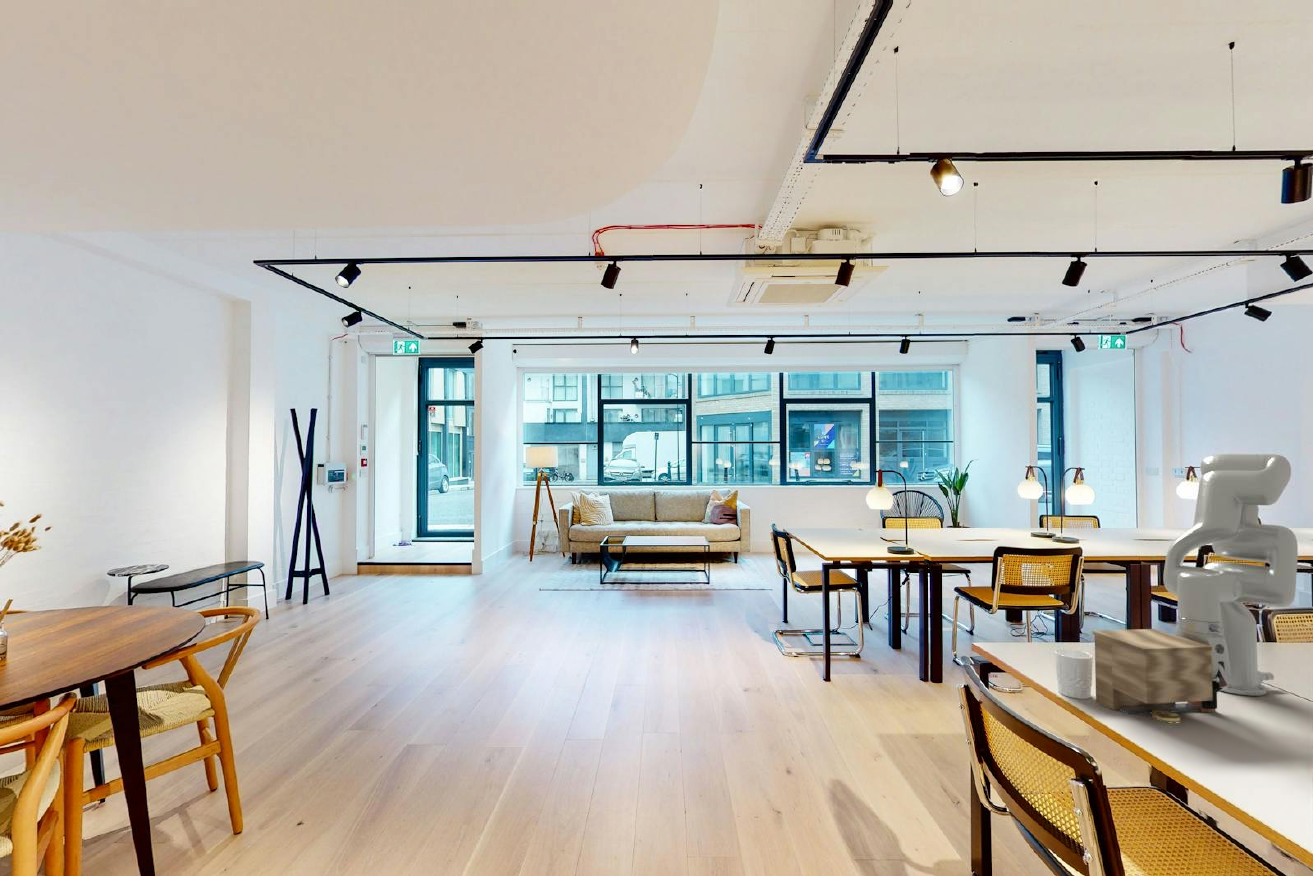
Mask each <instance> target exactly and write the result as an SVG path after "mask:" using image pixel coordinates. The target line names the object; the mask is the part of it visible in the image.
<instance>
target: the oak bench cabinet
mask: <svg viewBox="0 0 1313 876" xmlns="http://www.w3.org/2000/svg"><path fill="white" fill-rule="evenodd" d="M1093 635H1094V668H1095V669H1094V670H1095V676H1094V677H1095V702H1096V703H1098V704H1100V705H1103V706H1104V705H1105V706H1104V707H1106V706H1107V707H1106V708H1108V707H1109V708H1108V709H1110V708H1111V709H1110V710H1112V711H1116V710H1117V711H1118V710H1119V711H1121V710H1120V709H1121V706H1138V705H1159V704H1177V703H1185V702H1186V703H1187V702H1190V701H1212V700H1213V693H1212V656H1211V650H1212V647H1211V646H1208V645H1205V644H1202V643H1198V642H1195V641H1192V640H1189V639H1186V638H1182V637H1179V636H1176V635H1175V634H1173V633H1168V632H1165V631H1163V630H1159V629H1157V628H1144V629H1139V628H1137V629H1113V630H1112V629H1110V630H1109V629H1108V630H1104V629H1103V630H1092V636H1093Z"/></svg>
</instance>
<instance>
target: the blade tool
mask: <svg viewBox="0 0 1313 876" xmlns="http://www.w3.org/2000/svg"><path fill="white" fill-rule="evenodd" d="M1121 710H1122V711H1121ZM1121 710H1120V711H1121V712H1123V711H1124V712H1123V713H1125V712H1126V713H1125V714H1127V713H1128V714H1127V715H1138V714H1137V713H1143V714H1152V711H1153V710H1163V711H1168V712H1171V711H1185V712H1200V711H1201V712H1200V713H1212V712H1216V710H1217V709H1204V708H1203V706H1202V701H1190V702H1186V703H1185V702H1180V703H1176V704H1159V705H1138V706H1121ZM1134 713H1135V714H1134Z"/></svg>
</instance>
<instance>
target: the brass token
mask: <svg viewBox="0 0 1313 876" xmlns="http://www.w3.org/2000/svg"><path fill="white" fill-rule="evenodd" d="M1152 716H1153V717H1154V718H1153V717H1152ZM1151 717H1152V718H1153V719H1155V720H1157V719H1159V720H1158V721H1160V720H1161V721H1160V722H1163V721H1164V723H1168V722H1172V723H1171V724H1177V723H1176V722H1180V723H1181V716H1180V715H1179V714H1177V713H1176V712H1168V711H1163V710H1153V711H1152V713H1151Z"/></svg>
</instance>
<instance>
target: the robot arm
mask: <svg viewBox="0 0 1313 876" xmlns="http://www.w3.org/2000/svg"><path fill="white" fill-rule="evenodd" d="M1200 472H1201V477H1200V479H1199V485H1198V491H1197V498H1196V504H1195V505H1196V506H1195V513H1194V520H1193V521H1194V522H1193V525H1192V526H1191V527H1190V528H1189V529H1188V530H1187V531H1185V532H1183V533H1181V535H1179V536H1178V537H1177V538H1176V539H1175V540H1174V541H1173V542H1172V544H1171V545H1170V546H1169V548H1168V551H1167V553H1166V557H1165V562H1164V567H1163V568H1164V569H1163V578H1162V579H1163V584H1164V587H1165V590H1166V591H1167V592H1169V593H1170V594H1171V595H1174V596H1177V621H1178V623H1177V626H1178V627H1176V631H1175V634H1174V635H1176V636H1179V637H1182V638H1186V639H1189V640H1192V641H1195V642H1198V643H1202V644H1205V645H1208V646H1211V647H1212V650H1211V656H1212V693H1213V700H1212V701H1202V706H1203V708H1204V709H1216V710H1217V709H1218V693H1220V692H1226V693H1228V694H1229V693H1230V694H1234V695H1235V694H1236V695H1243V696H1253V697H1255V696H1257V697H1258V696H1265V695H1267V693H1268V688H1267V687H1266V686H1265V685H1263V684H1262V682H1263V681H1272V680H1274V679H1275V676H1274V674H1273V673H1272V672H1270V671H1268V672H1264V671H1262V672H1261V671H1259V670H1258V669H1259V667H1258V638H1257V637H1258V635H1257V621H1256V618H1255V616H1254V614H1253V613H1252V612H1251V611H1250V610H1249V609H1248V608H1247V606H1246V605H1245V604H1255V605H1261V606H1267V607H1277V608H1285V607H1289V606H1291V605H1292V604H1293V603H1294V601H1295V597H1296V590H1297V571H1298V558H1299V557H1298V553H1299V551H1298V550H1299V546H1298V541H1297V540H1298V539H1297V537H1296V534H1295V533H1294V532H1293V530H1292V529H1290V528H1288V527H1286V526H1283V525H1277V524H1265V523H1259V510H1260V509H1259V506H1271V505H1274V504H1275V503H1277V502H1278V500H1279V498H1280V497H1281V495H1282V494H1283V492H1284V490H1285V489H1286V487H1287V485H1288V484H1289V482H1290V480H1291V475H1292V467H1291V463H1290V461H1289V460H1288V459H1287V457H1285V456H1283V455H1279V454H1273V453H1272V454H1271V453H1270V454H1269V453H1268V454H1267V453H1266V454H1265V453H1262V454H1261V453H1260V454H1256V453H1255V454H1254V453H1253V454H1252V453H1251V454H1249V453H1246V454H1244V453H1243V454H1242V453H1236V454H1235V453H1233V454H1232V453H1229V454H1227V453H1226V454H1224V453H1223V454H1215V455H1208V456H1206V457H1205V458H1203V459H1202V460H1201V462H1200ZM1210 544H1211V547H1212V550H1213V552H1214V553H1215V554H1216V555H1217V556H1219V557H1222V558H1224V559H1225V558H1226V559H1230V560H1231V559H1232V560H1240V561H1250V562H1261V563H1267V564H1269V566H1264V565H1255V564H1254V565H1253V564H1247V563H1239V562H1238V563H1237V562H1228V561H1227V562H1226V561H1213V562H1209V563H1206V564H1205V565H1203V566H1202V567H1197V566H1188V565H1183V563H1184V560H1185V559H1186V557H1187V556H1188V555H1189V554H1190V553H1191V552H1192V551H1194V550H1195V549H1198V548H1200V547H1203V546H1207V545H1210ZM1244 603H1245V604H1244Z"/></svg>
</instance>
